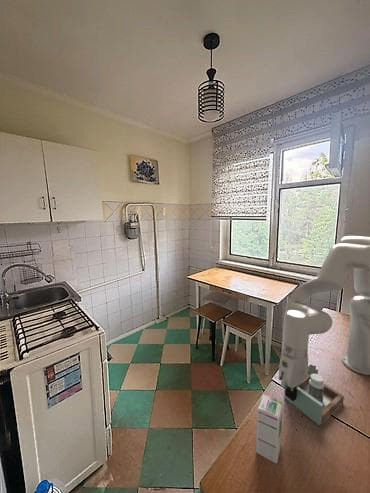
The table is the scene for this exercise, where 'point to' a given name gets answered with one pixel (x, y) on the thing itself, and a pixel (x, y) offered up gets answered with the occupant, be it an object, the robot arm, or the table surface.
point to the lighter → (312, 369)
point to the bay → (326, 398)
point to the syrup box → (269, 428)
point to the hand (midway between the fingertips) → (290, 397)
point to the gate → (308, 405)
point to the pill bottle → (316, 387)
